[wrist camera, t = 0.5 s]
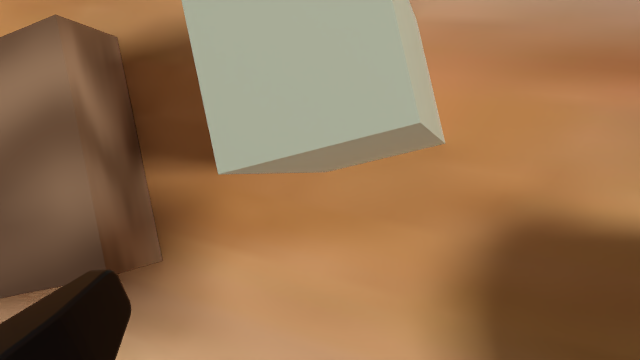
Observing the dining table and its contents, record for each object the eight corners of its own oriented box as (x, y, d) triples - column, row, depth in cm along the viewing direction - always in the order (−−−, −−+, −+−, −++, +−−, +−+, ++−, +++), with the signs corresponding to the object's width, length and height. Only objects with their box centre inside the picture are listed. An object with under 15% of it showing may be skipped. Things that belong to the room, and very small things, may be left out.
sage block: (445, 143, 21) (420, 122, 12) (325, 172, 23) (218, 174, 13) (416, 20, 21) (369, -99, 12) (300, 57, 23) (177, -22, 14)
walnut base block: (162, 260, 26) (107, 276, 22) (-8, 295, 29) (-81, 314, 25) (117, 37, 26) (55, 14, 22) (-45, 97, 30) (-122, 87, 26)
